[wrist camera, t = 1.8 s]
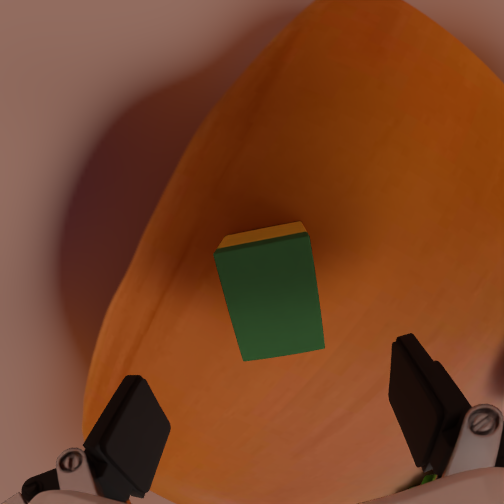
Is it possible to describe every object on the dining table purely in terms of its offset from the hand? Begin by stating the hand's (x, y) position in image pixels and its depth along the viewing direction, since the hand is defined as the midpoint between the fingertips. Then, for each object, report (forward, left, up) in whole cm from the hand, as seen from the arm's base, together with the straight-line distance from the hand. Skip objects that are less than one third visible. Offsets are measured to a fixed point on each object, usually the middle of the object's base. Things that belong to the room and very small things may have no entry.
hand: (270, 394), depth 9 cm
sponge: (0, 0, -10) cm, 10 cm away
